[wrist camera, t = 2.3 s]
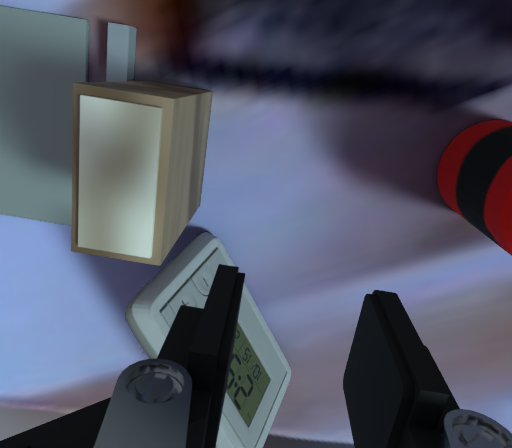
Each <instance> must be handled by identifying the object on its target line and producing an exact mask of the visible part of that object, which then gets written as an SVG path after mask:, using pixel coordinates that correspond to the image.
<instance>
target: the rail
mask: <svg viewBox="0 0 512 448" xmlns="http://www.w3.org/2000/svg"><path fill="white" fill-rule="evenodd" d="M136 29H137V28H135V27H132V26H128V25H122V24H115V23H109V22H108V40H107V71H106V82H118V81H134V66H135V48H136Z"/></svg>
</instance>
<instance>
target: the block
mask: <svg viewBox="0 0 512 448" xmlns="http://www.w3.org/2000/svg"><path fill="white" fill-rule="evenodd" d="M212 94H213V91H208V90H201V89H195V88H189V87H183V86H177V85H170V84H164V83H158V82H152V81H118V82H78V83H73V133H72V244H71V251H73V252H79V253H85V254H91V255H97V256H103V257H109V258H115V259H121V260H127V261H133V262H139V263H145V264H152V265H158V266H160V265H161V264H162V262H163V261H164V259H165V258H166V256H167V255H168V253H169V252H170V250H171V249H172V247H173V245H174V244H175V242H176V241H177V239H178V238H179V236H180V235H181V233H182V232H183V230H184V229H185V227H186V226H187V224H188V223H189V221H190V220H191V218H192V216H193V215H194V213H195V212H196V210H197V209H198V207H199V206H200V201H201V192H202V183H203V174H204V165H205V157H206V148H207V139H208V130H209V121H210V112H211V103H212Z"/></svg>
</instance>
